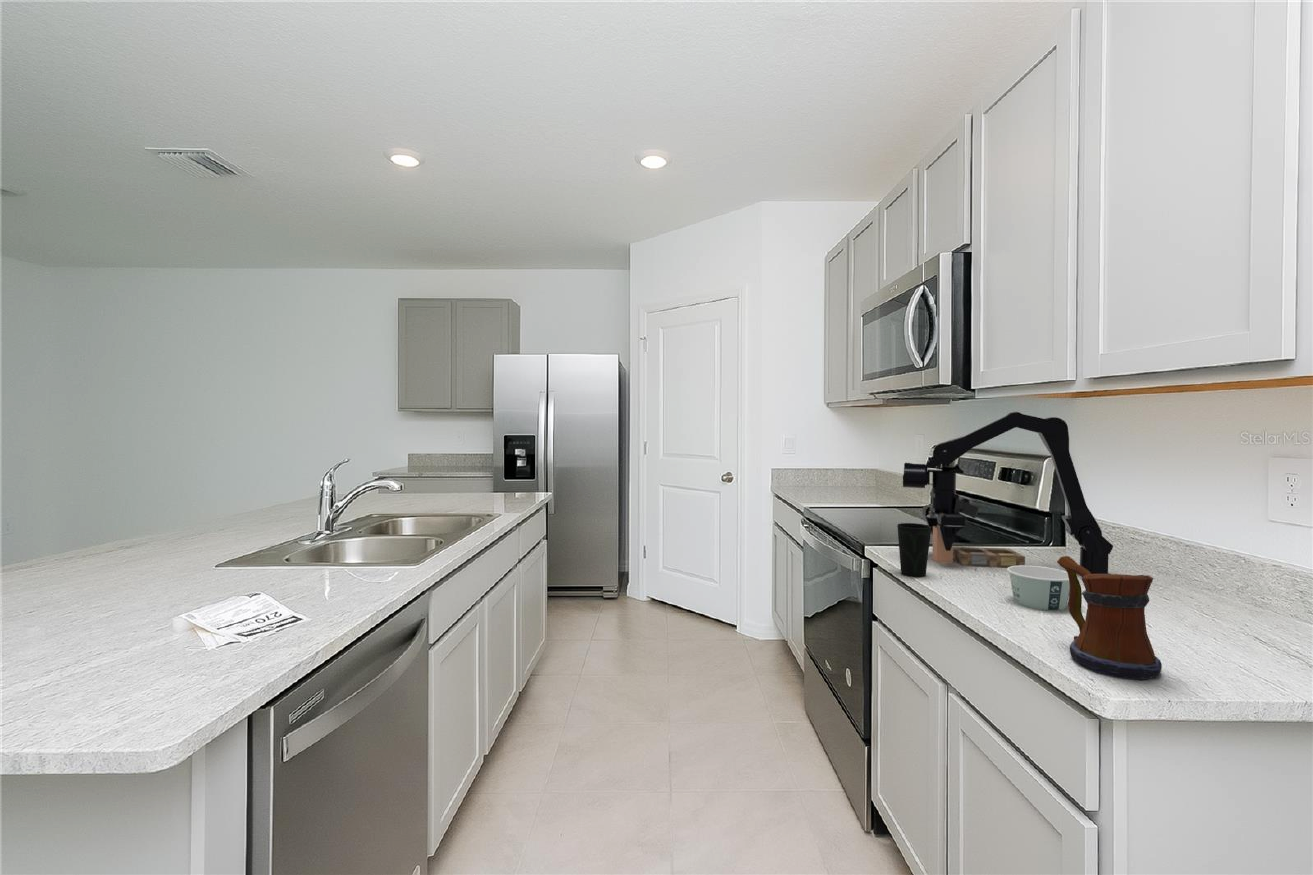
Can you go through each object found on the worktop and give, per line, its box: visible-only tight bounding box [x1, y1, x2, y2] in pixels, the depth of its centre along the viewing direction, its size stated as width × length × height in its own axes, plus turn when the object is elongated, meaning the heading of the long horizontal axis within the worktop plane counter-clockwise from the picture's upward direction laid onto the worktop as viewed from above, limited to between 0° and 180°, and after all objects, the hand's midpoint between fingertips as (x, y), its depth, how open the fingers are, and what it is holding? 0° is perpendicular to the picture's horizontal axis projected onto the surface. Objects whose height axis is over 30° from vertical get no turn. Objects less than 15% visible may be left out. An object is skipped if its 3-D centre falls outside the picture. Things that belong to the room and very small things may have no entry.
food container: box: [1006, 564, 1070, 611], centre depth 126 cm, size 12×12×6 cm
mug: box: [1056, 555, 1163, 681], centre depth 97 cm, size 18×12×15 cm, turn 0°
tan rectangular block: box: [931, 526, 954, 564], centre depth 163 cm, size 4×4×9 cm
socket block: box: [953, 546, 1026, 569], centre depth 162 cm, size 10×15×3 cm
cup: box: [896, 522, 932, 578], centre depth 149 cm, size 8×8×12 cm
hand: (942, 547), depth 163 cm, fingers open, 9 cm apart
